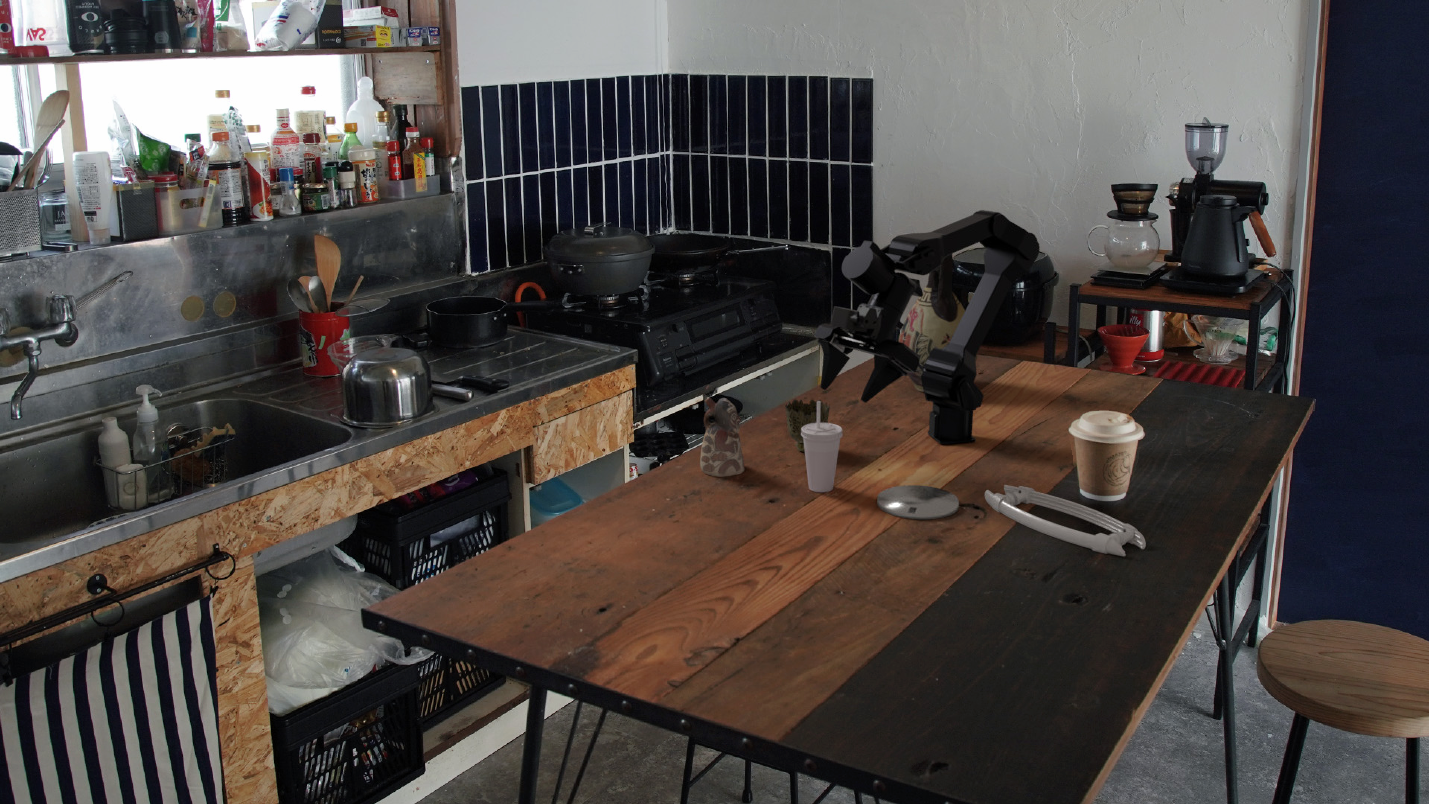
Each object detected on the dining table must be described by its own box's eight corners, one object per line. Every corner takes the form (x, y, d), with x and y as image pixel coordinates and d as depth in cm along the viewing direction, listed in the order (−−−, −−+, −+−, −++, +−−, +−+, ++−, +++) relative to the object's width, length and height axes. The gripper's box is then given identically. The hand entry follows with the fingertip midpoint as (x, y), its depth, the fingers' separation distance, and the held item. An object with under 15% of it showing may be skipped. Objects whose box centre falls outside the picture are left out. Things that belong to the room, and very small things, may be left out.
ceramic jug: (887, 379, 251) (892, 232, 242) (962, 376, 252) (969, 230, 244) (909, 403, 235) (915, 246, 226) (988, 400, 236) (997, 244, 227)
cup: (829, 443, 212) (830, 398, 210) (828, 457, 205) (829, 411, 203) (785, 442, 213) (786, 397, 211) (783, 456, 206) (784, 410, 204)
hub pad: (885, 486, 192) (885, 481, 192) (963, 494, 188) (964, 490, 188) (869, 514, 181) (869, 509, 181) (952, 523, 178) (952, 518, 177)
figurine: (735, 479, 196) (735, 406, 193) (693, 474, 198) (692, 402, 195) (750, 464, 202) (750, 394, 199) (709, 460, 205) (708, 390, 201)
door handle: (1016, 494, 190) (1156, 546, 170) (971, 508, 184) (1110, 564, 165) (1018, 478, 189) (1158, 528, 169) (972, 491, 183) (1111, 545, 164)
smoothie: (797, 481, 195) (798, 396, 191) (837, 480, 195) (839, 394, 191) (803, 496, 188) (804, 408, 184) (845, 494, 189) (847, 406, 185)
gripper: (815, 275, 199) (772, 361, 197) (900, 293, 185) (854, 386, 183) (855, 307, 206) (814, 390, 205) (940, 327, 192) (896, 416, 190)
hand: (842, 395), depth 195 cm, fingers open, 9 cm apart
